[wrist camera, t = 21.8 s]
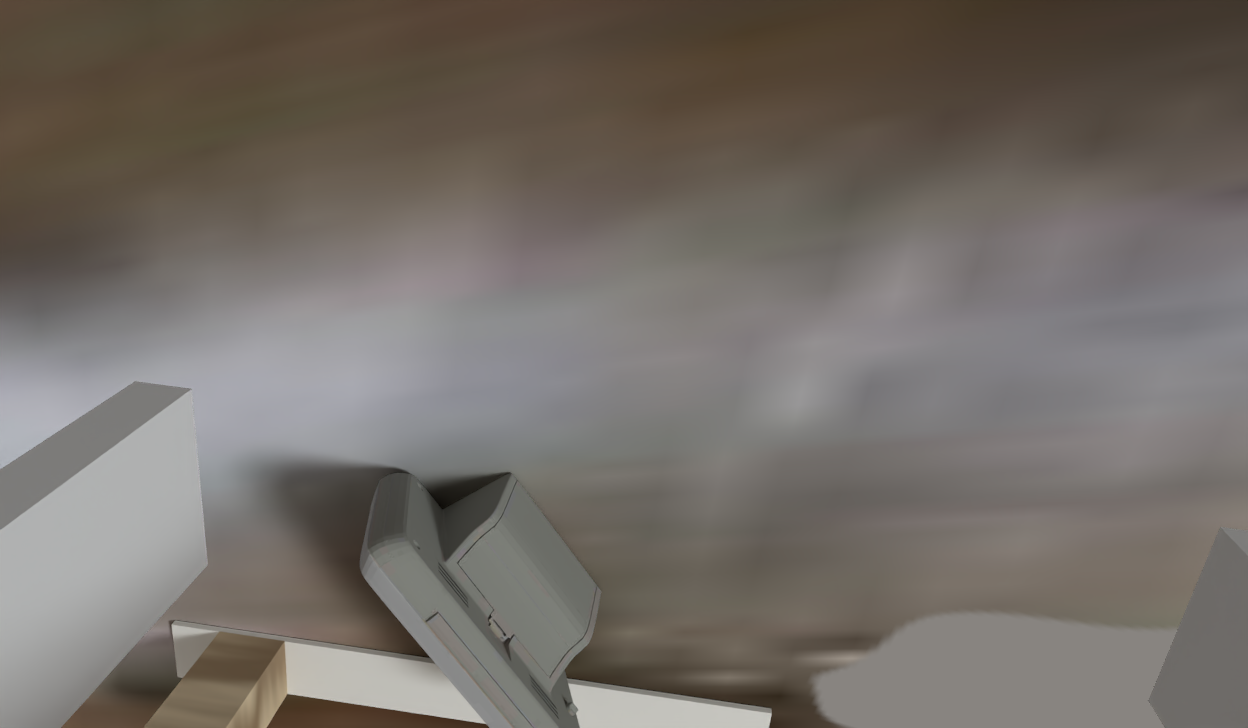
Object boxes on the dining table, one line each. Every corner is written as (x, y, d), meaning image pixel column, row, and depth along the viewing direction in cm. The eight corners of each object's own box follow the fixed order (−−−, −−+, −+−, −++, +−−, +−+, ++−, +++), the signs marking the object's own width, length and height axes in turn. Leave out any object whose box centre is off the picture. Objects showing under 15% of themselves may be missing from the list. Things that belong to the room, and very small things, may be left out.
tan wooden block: (219, 631, 54) (126, 749, 45) (284, 641, 54) (203, 761, 45) (224, 683, 55) (134, 807, 47) (287, 693, 55) (209, 819, 47)
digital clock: (370, 462, 49) (283, 578, 39) (519, 413, 47) (467, 522, 37) (493, 689, 54) (443, 842, 44) (632, 653, 52) (612, 805, 42)
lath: (175, 620, 54) (171, 624, 54) (771, 708, 52) (771, 713, 52) (181, 672, 56) (177, 677, 55) (760, 760, 54) (760, 765, 54)
